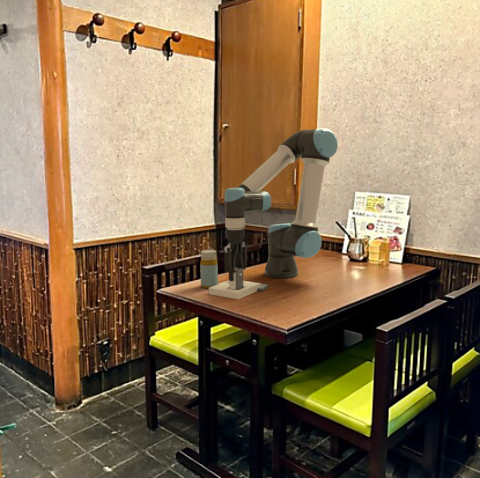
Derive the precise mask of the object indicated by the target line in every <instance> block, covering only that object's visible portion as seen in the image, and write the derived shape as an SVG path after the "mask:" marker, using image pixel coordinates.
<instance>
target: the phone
mask: <svg viewBox="0 0 480 478" xmlns="http://www.w3.org/2000/svg"><path fill="white" fill-rule="evenodd" d="M268 288H269V284H267V283H266V284H265V283H264V284H263V283H261V287H259V288H257V291H256V292H265V291H266V290H267V289H268Z"/></svg>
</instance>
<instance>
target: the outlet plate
mask: <svg viewBox="0 0 480 478" xmlns="http://www.w3.org/2000/svg"><path fill="white" fill-rule="evenodd" d="M261 284H262V283H260V282H253V281H246V280H243V288H242V289H240V290H234V289H229V279H228V280H225V281H223V282H221V283H218V285H215V286H212V287H210V288H209V289H208V295H212V296H218V297H223V298H229V299H234V300H240V299H242V298H244V297H246V296H247V297H248V296H249V295H251V294H253V293H255V292H258V291H257V288H259V287H261Z"/></svg>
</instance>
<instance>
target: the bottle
mask: <svg viewBox="0 0 480 478" xmlns="http://www.w3.org/2000/svg"><path fill="white" fill-rule="evenodd" d="M200 258H201V259H200V264H199V265H200V266H199V267H200V286H201V288H203V289H208V290H209V288H210V287H212V286H215V285H218V284H219V280H218V279H219V278H218V277H219V276H218V272H219V271H218V261H217V250H214V249H204V250H201V251H200Z"/></svg>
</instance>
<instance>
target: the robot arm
mask: <svg viewBox="0 0 480 478" xmlns="http://www.w3.org/2000/svg"><path fill="white" fill-rule="evenodd" d="M338 143H339V142H338V139H337V137H336V135H335V133H334V132H333V131H332V130H330V129H328V128H313V129H311V128H310V129H301V130H298V131H297V132H295V133H293V134H291V135H290V136H289V137H287V138H286V139H285V140H284V141H283V142H282V143H281V144H280V145H278V146H277V151H275V152H274V153H273V154H272V155H271V156H270V157H269V158H268V159H267V160H265V162H263V164H261V165H260V166H259V167H258V168H256V170H255V171H253V173H252V174H250V176H248V177H247V178H246V179H245V180H244V181H243V182H242V183H240V184H239V185H238V186H237V187H229V188H225V191H224V219H225V224H224V225H225V228H226V229H225V234H224V235H225V239H227V244H226V246H223V248H222V250H223V259H224V263H223V264H224V272H225V273H228V280H229V288H230V289H236V273H235V272H234V270H235V267H236V268H243V271H245V270H247V269H246V267H247V260H248V259H247V258H248V257H247V256H248V255H247V251H248V250H247V249H248V242H246V241H244V239H245V238H246V229H245V227H246V223H245V222H246V221H245V220H246V218H245V217H246V216H245V215H246V213H248V212H260V211H261V212H263V211H266V210H268V209H270V208H271V206H272V197H271V194H270V193H269V192H267V191H266V190H265V191H263V188H265V187H266V186H267V185H268V184H269V183H270V182H271V181H272V180H273V179H274V178H275V177H277V175H279V174H280V173H281V172H282V171H283V170H284V169H285V168H286V167H287V166H288V165H289V164H293V163H295V162H296V161H297V160H298V159H301V161H302V162H303V170H302V174H301V175H302V177H301V183H300V189H299V195H298V201H297V206H296V207H297V208H296V214H295V219H294V220H293V221H292V222H291V223H290V222H288V223H278V224H277V223H275V224H270V225H269V226H268V230H267V241H268V258H267V262H266V264H265V267H264V276H266V277H269V278H275V279H289V278H294V277H296V276H299V268H298V265H297V262H296V259H295V256H296V257H299V258H306V259H309V258H310V259H311V258H312V257H314V256H315V255H317V254H318V253H319V251H320V250H321V248H322V242H323V241H322V237H321V234H320V233H319V225H318V224H317V215H318V208H319V203H320V197H321V191H322V186H323V179H324V173H325V169H326V166H328V164H330V159H331V158H332V157H333V156H334V155H335V154H336V153H337V151H338V147H339V146H338ZM261 190H262V191H261Z"/></svg>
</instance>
